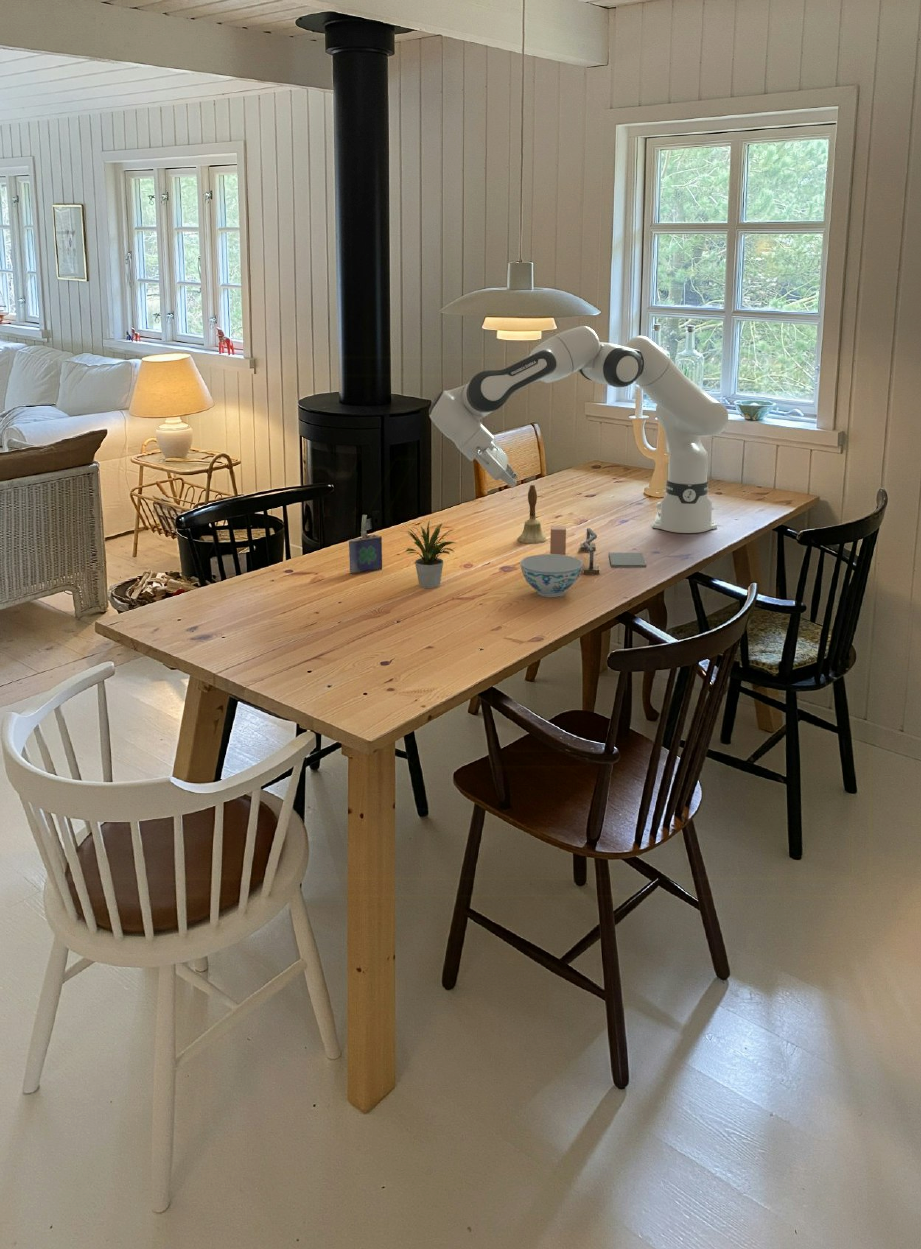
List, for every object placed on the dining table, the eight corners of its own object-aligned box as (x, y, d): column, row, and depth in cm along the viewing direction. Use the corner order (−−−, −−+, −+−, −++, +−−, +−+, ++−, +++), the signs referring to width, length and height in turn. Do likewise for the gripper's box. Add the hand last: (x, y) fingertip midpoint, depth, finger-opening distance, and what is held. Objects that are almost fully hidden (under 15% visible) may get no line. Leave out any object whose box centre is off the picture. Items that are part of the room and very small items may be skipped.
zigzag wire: (580, 547, 306) (581, 526, 304) (594, 547, 306) (595, 526, 304) (583, 574, 281) (584, 551, 279) (599, 574, 281) (600, 551, 279)
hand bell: (544, 544, 310) (545, 488, 304) (515, 543, 311) (516, 487, 306) (548, 536, 317) (549, 482, 312) (520, 535, 319) (520, 481, 314)
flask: (352, 575, 283) (350, 534, 279) (347, 572, 285) (345, 532, 282) (384, 569, 287) (383, 530, 284) (379, 567, 290) (377, 527, 286)
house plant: (409, 598, 264) (407, 532, 259) (389, 582, 276) (387, 519, 271) (463, 590, 270) (462, 525, 264) (441, 575, 282) (440, 513, 276)
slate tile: (608, 554, 299) (609, 552, 299) (642, 554, 298) (642, 552, 298) (611, 566, 287) (611, 564, 287) (646, 567, 287) (646, 565, 287)
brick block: (550, 558, 296) (550, 525, 293) (565, 558, 296) (565, 525, 293) (550, 562, 292) (550, 529, 289) (565, 562, 292) (566, 529, 289)
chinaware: (587, 601, 260) (588, 570, 258) (524, 603, 259) (524, 572, 257) (575, 582, 275) (576, 553, 272) (516, 584, 273) (516, 555, 271)
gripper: (484, 443, 275) (523, 481, 277) (488, 430, 294) (524, 466, 296) (467, 460, 276) (505, 498, 279) (472, 446, 296) (508, 482, 298)
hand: (515, 482), depth 288 cm, fingers open, 8 cm apart
